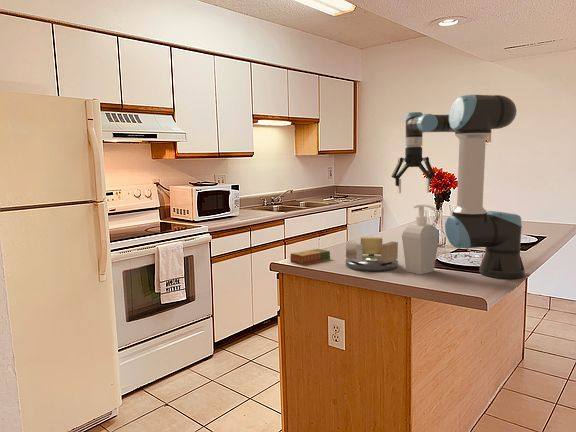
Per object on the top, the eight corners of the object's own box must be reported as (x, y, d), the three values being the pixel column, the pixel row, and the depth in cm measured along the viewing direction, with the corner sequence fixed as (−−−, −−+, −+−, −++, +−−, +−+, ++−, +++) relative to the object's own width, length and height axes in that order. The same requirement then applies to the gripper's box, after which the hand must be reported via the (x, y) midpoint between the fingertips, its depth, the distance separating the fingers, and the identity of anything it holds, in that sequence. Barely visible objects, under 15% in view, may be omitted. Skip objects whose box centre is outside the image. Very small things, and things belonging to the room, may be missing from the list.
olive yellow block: (382, 255, 191) (382, 237, 190) (382, 256, 188) (382, 238, 187) (360, 254, 192) (360, 237, 191) (360, 256, 190) (360, 238, 189)
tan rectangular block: (391, 260, 182) (391, 241, 181) (397, 260, 180) (397, 242, 179) (380, 264, 175) (381, 244, 174) (386, 265, 173) (387, 245, 172)
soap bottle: (423, 276, 164) (425, 206, 161) (401, 271, 172) (402, 205, 169) (442, 271, 172) (444, 204, 168) (420, 266, 179) (421, 202, 176)
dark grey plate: (405, 270, 174) (405, 263, 173) (353, 272, 171) (353, 265, 171) (387, 258, 194) (387, 252, 194) (340, 260, 192) (340, 254, 192)
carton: (290, 262, 192) (289, 252, 192) (317, 257, 202) (317, 247, 202) (302, 265, 186) (302, 255, 185) (330, 260, 196) (330, 250, 195)
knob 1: (362, 263, 176) (362, 244, 175) (356, 264, 175) (356, 245, 174) (351, 259, 184) (351, 240, 184) (346, 259, 184) (346, 241, 183)
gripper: (436, 146, 211) (435, 191, 213) (384, 147, 208) (384, 192, 210) (443, 146, 203) (442, 192, 206) (390, 146, 200) (390, 193, 203)
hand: (413, 192), depth 208 cm, fingers open, 13 cm apart
